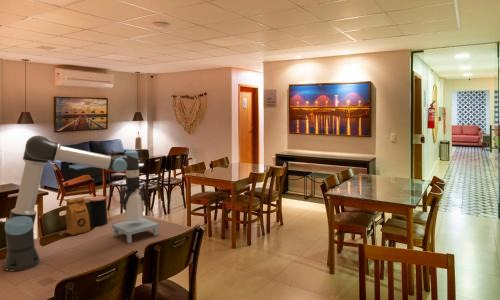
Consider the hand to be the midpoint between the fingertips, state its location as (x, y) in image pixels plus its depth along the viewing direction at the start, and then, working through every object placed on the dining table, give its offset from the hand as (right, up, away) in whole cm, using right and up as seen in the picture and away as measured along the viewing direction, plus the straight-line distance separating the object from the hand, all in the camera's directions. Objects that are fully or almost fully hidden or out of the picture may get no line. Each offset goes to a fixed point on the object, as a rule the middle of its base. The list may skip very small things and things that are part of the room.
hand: (134, 212), depth 221 cm
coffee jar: (-32, -12, +26) cm, 43 cm away
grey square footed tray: (0, -14, +2) cm, 14 cm away
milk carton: (0, -4, +1) cm, 4 cm away
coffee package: (-38, -14, +9) cm, 41 cm away
